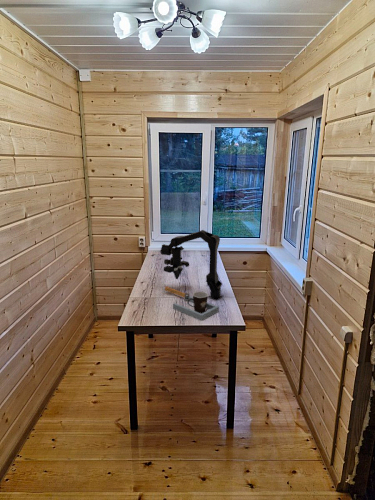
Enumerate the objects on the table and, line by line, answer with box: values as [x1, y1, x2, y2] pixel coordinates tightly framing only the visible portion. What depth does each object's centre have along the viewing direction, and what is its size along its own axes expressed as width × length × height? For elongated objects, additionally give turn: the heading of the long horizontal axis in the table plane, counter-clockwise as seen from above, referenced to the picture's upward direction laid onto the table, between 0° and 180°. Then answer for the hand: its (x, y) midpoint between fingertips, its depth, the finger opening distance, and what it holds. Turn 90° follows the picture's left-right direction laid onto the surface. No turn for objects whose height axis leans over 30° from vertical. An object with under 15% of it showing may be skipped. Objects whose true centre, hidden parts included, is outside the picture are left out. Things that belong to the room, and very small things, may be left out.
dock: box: [172, 295, 220, 321], centre depth 186 cm, size 16×26×3 cm, turn 47°
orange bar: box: [164, 286, 190, 299], centre depth 204 cm, size 20×3×2 cm, turn 47°
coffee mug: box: [187, 291, 209, 314], centre depth 183 cm, size 12×9×10 cm
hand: (176, 278), depth 210 cm, fingers closed
